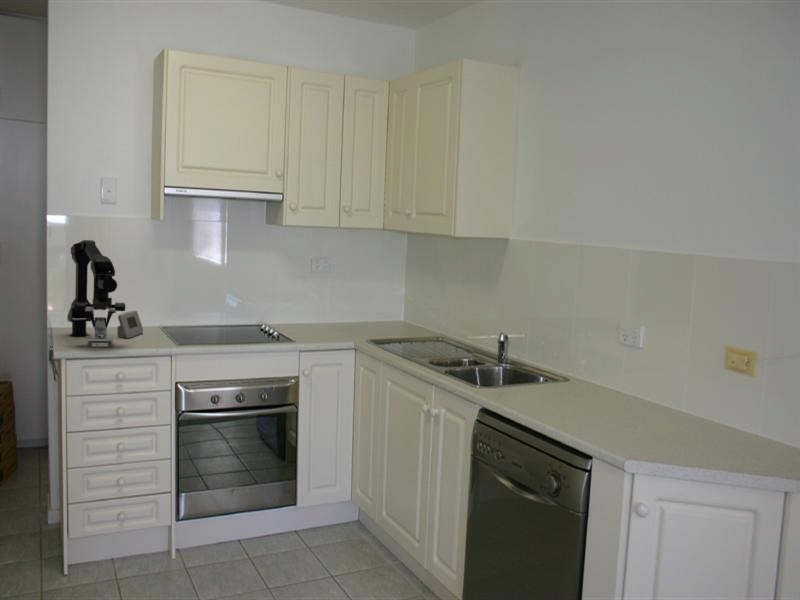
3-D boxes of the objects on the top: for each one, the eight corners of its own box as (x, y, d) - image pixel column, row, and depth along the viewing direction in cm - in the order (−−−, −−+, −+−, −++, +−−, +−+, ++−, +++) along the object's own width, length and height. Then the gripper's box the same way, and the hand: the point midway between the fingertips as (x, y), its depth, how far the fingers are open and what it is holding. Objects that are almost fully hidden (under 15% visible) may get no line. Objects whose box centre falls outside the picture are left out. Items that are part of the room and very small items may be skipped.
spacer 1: (94, 328, 302) (95, 316, 302) (106, 329, 304) (106, 317, 303) (94, 330, 298) (94, 318, 298) (105, 330, 300) (106, 318, 299)
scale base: (89, 342, 308) (89, 337, 307) (112, 342, 311) (112, 337, 310) (87, 347, 298) (87, 342, 298) (111, 347, 301) (111, 342, 301)
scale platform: (89, 336, 307) (89, 334, 307) (112, 336, 310) (112, 334, 310) (87, 341, 298) (87, 339, 298) (111, 341, 301) (111, 339, 301)
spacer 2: (94, 334, 308) (94, 323, 307) (106, 334, 310) (106, 322, 309) (95, 336, 304) (95, 324, 303) (107, 336, 306) (106, 324, 305)
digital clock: (127, 339, 320) (127, 315, 319) (109, 337, 322) (110, 313, 321) (149, 334, 336) (150, 311, 334) (132, 332, 338) (132, 309, 337)
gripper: (74, 291, 289) (73, 330, 290) (125, 292, 295) (124, 331, 297) (76, 287, 299) (76, 325, 301) (125, 289, 305) (124, 326, 307)
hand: (100, 327), depth 301 cm, fingers closed on spacer 1, 4 cm apart
